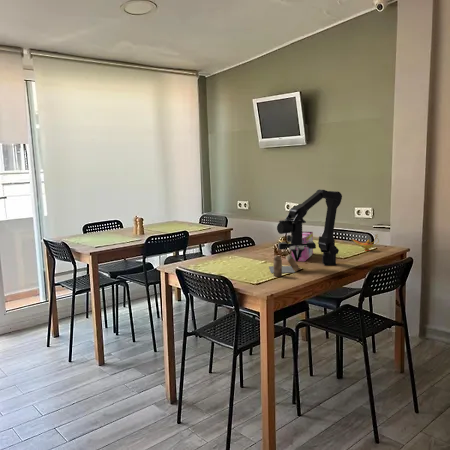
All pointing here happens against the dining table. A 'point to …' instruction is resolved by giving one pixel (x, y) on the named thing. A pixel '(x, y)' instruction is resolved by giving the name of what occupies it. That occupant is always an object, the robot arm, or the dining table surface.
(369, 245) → the magic lamp
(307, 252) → the gum box
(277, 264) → the pepper mill
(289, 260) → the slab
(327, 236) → the robot arm
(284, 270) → the mat
